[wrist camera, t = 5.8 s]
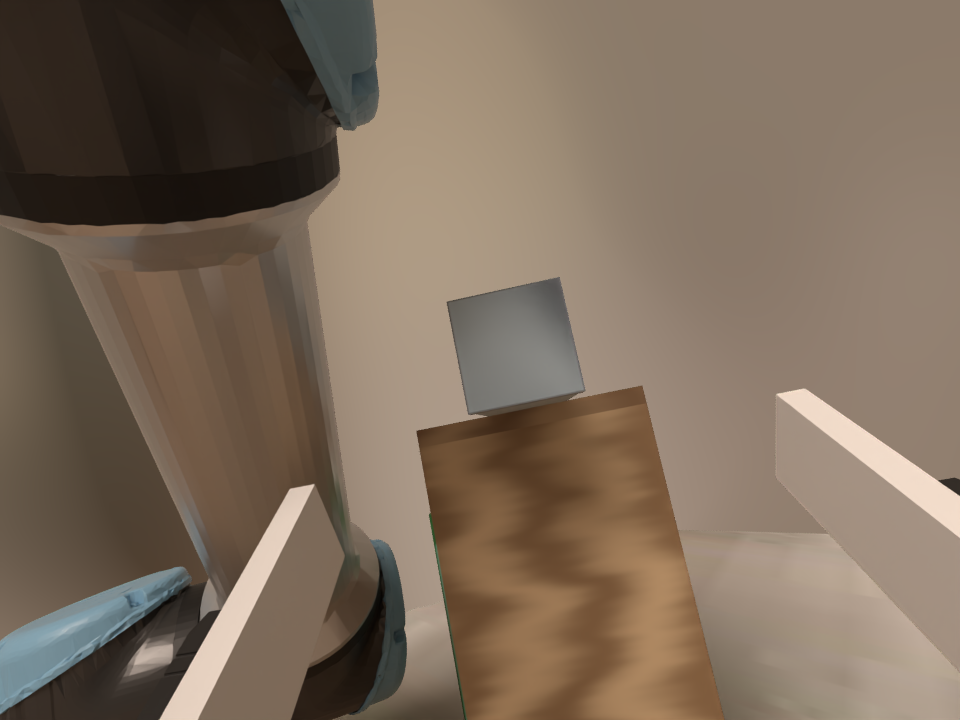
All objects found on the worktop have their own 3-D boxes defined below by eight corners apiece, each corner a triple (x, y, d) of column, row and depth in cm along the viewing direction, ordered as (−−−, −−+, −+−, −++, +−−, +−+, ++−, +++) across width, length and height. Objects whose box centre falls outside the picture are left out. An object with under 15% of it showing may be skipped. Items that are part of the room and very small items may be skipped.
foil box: (468, 414, 19) (446, 301, 20) (502, 419, 43) (492, 368, 44) (585, 390, 19) (559, 277, 20) (554, 409, 43) (543, 357, 43)
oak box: (519, 1047, 24) (412, 431, 28) (522, 859, 34) (443, 429, 38) (803, 1017, 23) (646, 384, 27) (718, 833, 33) (614, 395, 37)
